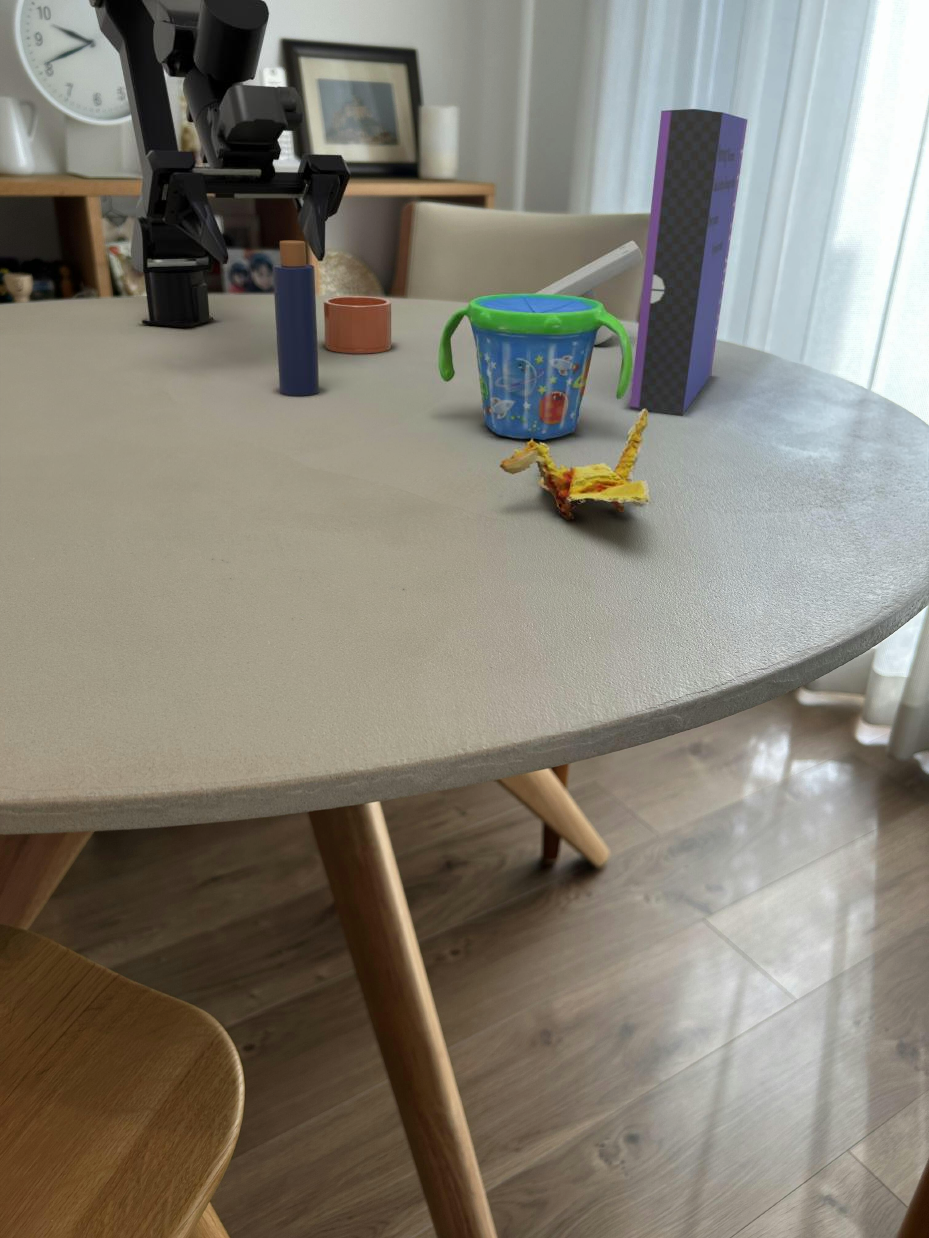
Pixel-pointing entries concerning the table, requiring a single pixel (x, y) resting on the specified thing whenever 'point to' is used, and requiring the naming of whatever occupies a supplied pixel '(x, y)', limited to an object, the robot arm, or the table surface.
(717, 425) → the table surface
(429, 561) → the table surface
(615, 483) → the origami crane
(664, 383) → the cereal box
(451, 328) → the snack cup
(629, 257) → the door handle
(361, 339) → the terracotta round pot
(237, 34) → the robot arm
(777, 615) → the table surface
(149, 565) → the table surface
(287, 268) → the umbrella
